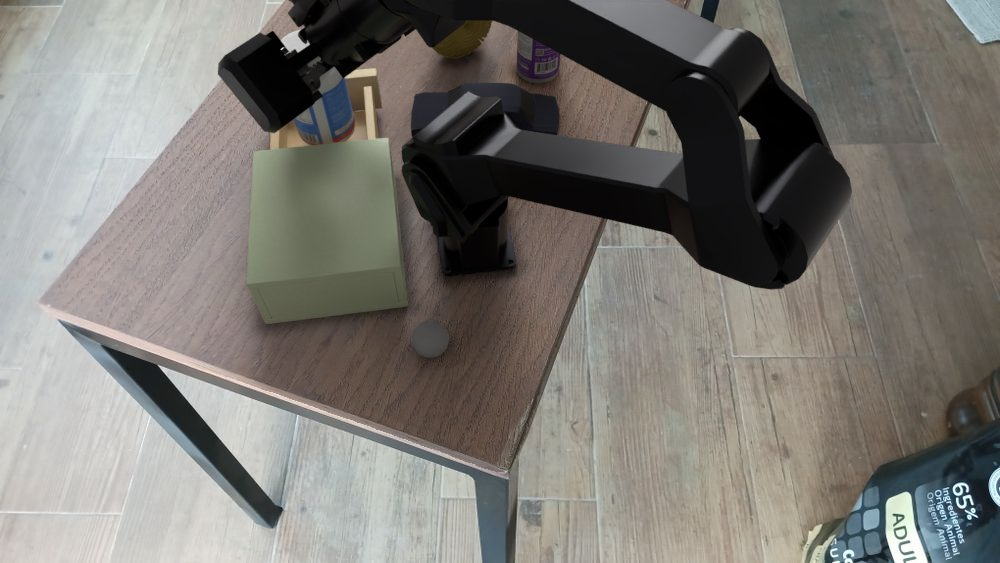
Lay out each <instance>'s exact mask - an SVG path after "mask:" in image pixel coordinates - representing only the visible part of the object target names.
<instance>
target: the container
mask: <svg viewBox="0 0 1000 563" xmlns="http://www.w3.org/2000/svg"><path fill="white" fill-rule="evenodd" d="M516 35H517V38H516V72H517V74H518V76H519V77H520V78H521V79H523V80H524V81H526V82H529V83H533V84H534V83H535V84H543V83H547V82H550V81H552V80H554V79H555V78H556V77H557V76H558V74H559V72H560V64H561V63H560V62H561V56H562V55H561V54H559V53H558V52H556V51H554V50H552V49H550V48H548V47H546V46H545V45H543V44H541V43H539V42H537V41H535V40H534V39H532V38H530V37H528V36H526V35H524V34H523V33H521V32H519V31H517V34H516Z"/></svg>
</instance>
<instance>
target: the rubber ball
mask: <svg viewBox="0 0 1000 563" xmlns="http://www.w3.org/2000/svg"><path fill="white" fill-rule="evenodd" d="M410 340H411V345H412V348H413V350H414V351H415V352H416V353H417V354H418V355H419V356H421V357H423V358H429V359H430V358H436V357H439V356H441V355H442V354H443V353H445V351H446V350H447V349H448V346H449V342H450V336H449V332H448V330H447V328H446V327H445V326H444V325H443V324H442V323H440V321H436V320H434V319H433V320H432V319H428V320H423V321H421V322H420V323H418V324H417V325H416V326H415V327H414V328H413V330H412V332H411V338H410Z"/></svg>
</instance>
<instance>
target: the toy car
mask: <svg viewBox="0 0 1000 563" xmlns="http://www.w3.org/2000/svg"><path fill="white" fill-rule="evenodd" d="M467 91H469V92H471V93H473V94H475V95H477V96H481V97H494V96H497V97H499V98H500V99H501V101H502V106H503V110H504V112H505V113H506V114H507V115H508V117H509V118H510V119H511V121H512V122H513V123H514V124H515V126H516V127H517V128H518V129H520V130H526V131H532V132H539V133H546V134H552V135H559V130H560V125H561V124H560V123H561V113H560V108H559V104H558V101H557V97H556V96H554V95H548V94H542V93H536V92H530V91H528V90H527V89H525V88H522V87H521V86H519V85H517V84H515V83H510V82H464V83H462V84H460V85H458V86H456V87H454V88H452V89H450V90H448V91H423V92H418V93H415V95H414V97H413V102H412V108H411V117H410V132H411V133H410V134H411V138H412V137H413V136H415V135H416V134H417V133H418V132H419V131H421V130H422V129H423V128H424V127H425V126H426V125H428V124H429V123H430V122H431V121H432V120H434V119H435V118H436V117H437V116H438V115H440V114H441V113H442V112H443V111H444V110H446V109H447V108H448V107H449V106H450V105H452V104H453V103H454V102H455V101H456V100H457V99H459V98H460V97H461V96H462V95H463V94H465V93H466V92H467Z"/></svg>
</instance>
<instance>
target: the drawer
mask: <svg viewBox="0 0 1000 563" xmlns="http://www.w3.org/2000/svg"><path fill="white" fill-rule="evenodd" d="M345 81H346V85H347V89H348V93H349V98H350V102H351V106H352V110H353V114H354V119H355V130H354V132H353V134H352V135H351V137H350V138H349V139H348V140H347V141H345V142H349V141H358V140H368V139H378V138H380V136H379V128H378V127H379V126H378V115H377V109H379V110H380V109H382V108H383V103H382V96H381V89H380V84H379V83H380V82H379V77H378V72H377V68H376V67H374V68H373V67H372V68H364V69H363V68H362V69H356V70H354V71H353V72H352V73H350V74H349V75H348V76H346V77H345ZM269 140H270V141H269V143H270V144H269V150H271V149H281V148H290V147H300V146H310V145H308V144H307V143H305V142H304V141H303V140H302V139H301V137H300V135H299V133H298V130H297V127H296V124H295V121H294V119H293V120H292V121H291V122H289V123H288V124H287V125H285V126H284V127H283V128H281V129H280V130H279V131H277V132H276V133H270V139H269Z"/></svg>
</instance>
